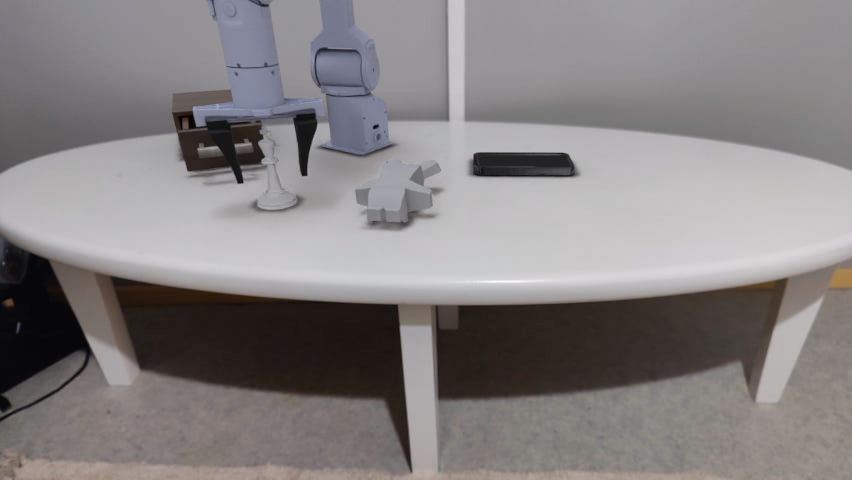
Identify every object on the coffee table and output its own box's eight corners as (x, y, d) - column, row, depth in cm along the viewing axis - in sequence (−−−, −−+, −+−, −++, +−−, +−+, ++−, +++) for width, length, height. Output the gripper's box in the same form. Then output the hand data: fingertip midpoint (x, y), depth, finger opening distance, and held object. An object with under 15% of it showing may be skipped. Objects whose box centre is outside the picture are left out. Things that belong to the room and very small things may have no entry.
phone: (473, 152, 89) (567, 152, 89) (473, 159, 89) (567, 159, 89) (473, 167, 82) (575, 167, 82) (473, 175, 82) (574, 175, 82)
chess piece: (283, 193, 76) (270, 118, 71) (304, 202, 73) (293, 125, 68) (249, 203, 72) (234, 126, 68) (271, 213, 70) (256, 133, 65)
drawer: (273, 171, 81) (266, 132, 78) (187, 181, 77) (177, 141, 74) (258, 138, 96) (251, 104, 94) (186, 146, 92) (177, 110, 89)
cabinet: (266, 150, 93) (257, 105, 90) (183, 159, 88) (171, 112, 85) (255, 128, 105) (248, 88, 102) (183, 135, 101) (172, 93, 97)
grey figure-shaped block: (340, 194, 64) (378, 143, 76) (347, 233, 67) (382, 178, 79) (421, 199, 63) (447, 147, 75) (424, 238, 66) (448, 181, 78)
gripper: (181, 73, 59) (210, 195, 65) (322, 66, 64) (336, 180, 70) (184, 63, 64) (210, 176, 71) (313, 57, 69) (327, 164, 76)
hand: (272, 177), depth 71 cm, fingers open, 7 cm apart
